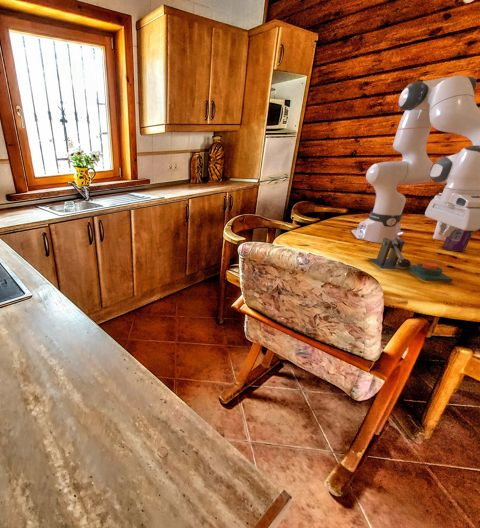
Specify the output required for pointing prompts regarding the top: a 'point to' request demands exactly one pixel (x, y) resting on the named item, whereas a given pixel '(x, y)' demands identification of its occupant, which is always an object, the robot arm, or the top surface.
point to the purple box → (457, 240)
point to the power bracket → (383, 253)
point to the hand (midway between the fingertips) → (443, 235)
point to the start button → (430, 265)
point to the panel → (429, 273)
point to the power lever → (399, 255)
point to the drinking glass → (438, 236)
